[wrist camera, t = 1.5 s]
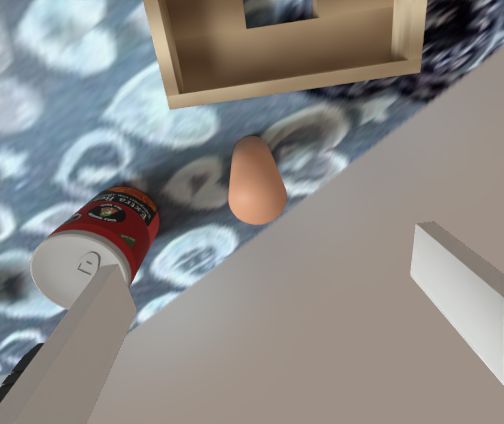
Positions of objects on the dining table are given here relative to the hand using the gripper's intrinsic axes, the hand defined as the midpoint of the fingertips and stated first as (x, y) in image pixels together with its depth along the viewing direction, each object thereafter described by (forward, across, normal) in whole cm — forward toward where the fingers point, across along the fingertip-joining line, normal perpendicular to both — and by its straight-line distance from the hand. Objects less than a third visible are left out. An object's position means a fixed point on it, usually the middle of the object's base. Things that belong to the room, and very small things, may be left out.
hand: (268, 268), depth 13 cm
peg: (+20, 0, 0) cm, 20 cm away
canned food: (+20, -15, -5) cm, 25 cm away
